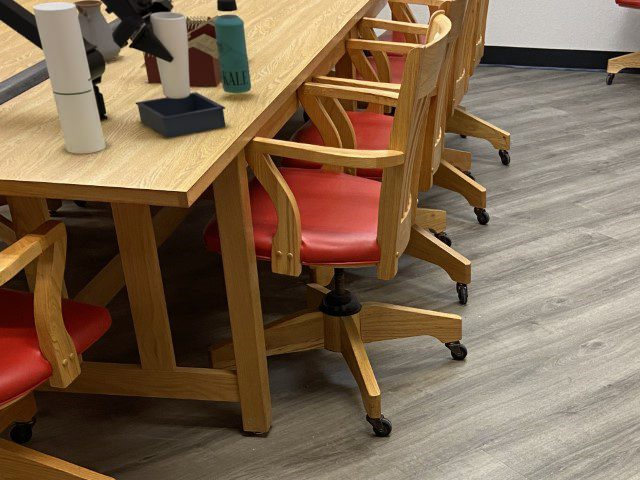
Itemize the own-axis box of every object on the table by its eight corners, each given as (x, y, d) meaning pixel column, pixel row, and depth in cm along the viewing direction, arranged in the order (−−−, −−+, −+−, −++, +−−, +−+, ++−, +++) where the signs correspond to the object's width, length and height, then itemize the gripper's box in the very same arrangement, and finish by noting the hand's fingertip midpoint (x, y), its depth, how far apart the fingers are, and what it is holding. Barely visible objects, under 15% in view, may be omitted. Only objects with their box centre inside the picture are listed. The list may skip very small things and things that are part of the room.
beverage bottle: (240, 90, 220) (227, -6, 208) (259, 96, 217) (248, -2, 205) (217, 96, 216) (203, -2, 204) (236, 102, 213) (223, 3, 201)
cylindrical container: (109, 141, 190) (80, 2, 175) (99, 153, 184) (68, 10, 169) (73, 141, 190) (40, 1, 175) (61, 153, 184) (27, 10, 169)
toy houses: (228, 87, 222) (222, 39, 216) (138, 86, 222) (129, 38, 216) (259, 41, 258) (254, -1, 252) (181, 40, 258) (175, -2, 252)
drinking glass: (198, 93, 198) (190, 13, 190) (187, 101, 193) (178, 20, 184) (166, 90, 199) (156, 10, 190) (154, 98, 193) (143, 17, 184)
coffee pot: (78, 54, 244) (63, -12, 235) (125, 52, 246) (113, -13, 237) (67, 76, 227) (51, 6, 218) (117, 74, 229) (104, 5, 220)
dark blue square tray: (166, 139, 192) (162, 118, 189) (139, 122, 200) (135, 102, 198) (227, 127, 199) (225, 107, 196) (199, 111, 207) (196, 92, 204)
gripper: (115, -31, 174) (184, 38, 180) (155, -48, 189) (218, 16, 195) (83, 14, 180) (151, 79, 185) (124, -6, 194) (186, 56, 200)
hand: (178, 56), depth 191 cm, fingers closed on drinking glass, 6 cm apart
